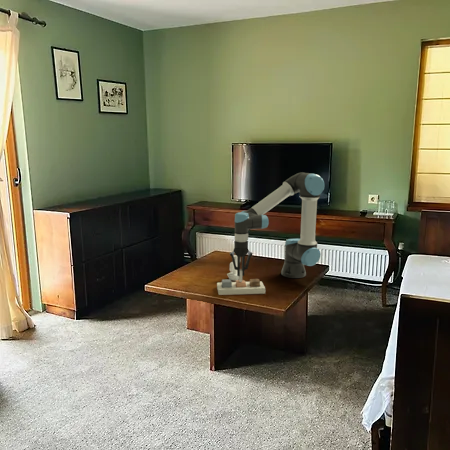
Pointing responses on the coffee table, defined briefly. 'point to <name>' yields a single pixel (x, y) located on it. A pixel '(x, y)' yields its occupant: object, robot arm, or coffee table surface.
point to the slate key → (226, 283)
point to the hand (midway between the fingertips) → (240, 281)
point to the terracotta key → (240, 283)
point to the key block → (240, 289)
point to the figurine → (233, 271)
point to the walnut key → (254, 283)
